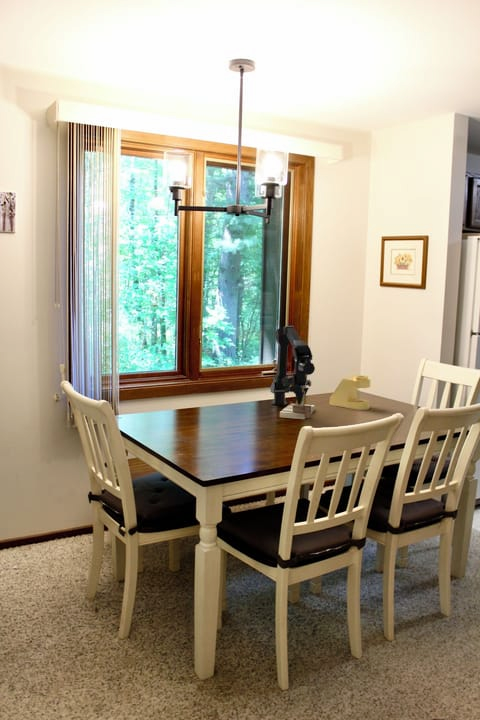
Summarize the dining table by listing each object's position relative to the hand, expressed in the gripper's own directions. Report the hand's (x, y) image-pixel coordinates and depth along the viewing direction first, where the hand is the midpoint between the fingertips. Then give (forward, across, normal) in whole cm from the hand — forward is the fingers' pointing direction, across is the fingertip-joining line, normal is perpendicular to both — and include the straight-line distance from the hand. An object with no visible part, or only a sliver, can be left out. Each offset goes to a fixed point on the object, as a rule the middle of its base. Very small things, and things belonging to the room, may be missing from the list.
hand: (300, 403), depth 313 cm
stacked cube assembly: (+6, 0, +1) cm, 6 cm away
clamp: (+7, -33, +18) cm, 38 cm away
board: (+6, -7, -3) cm, 10 cm away
